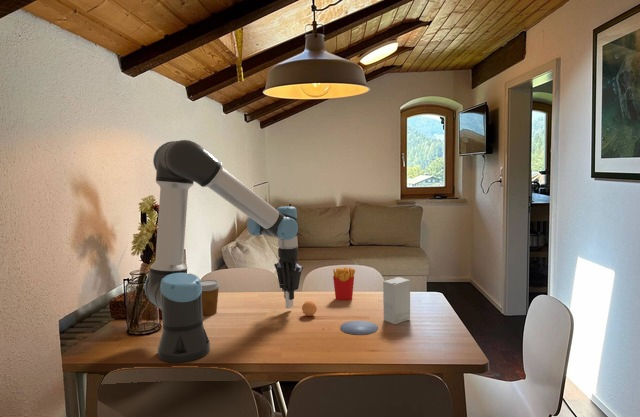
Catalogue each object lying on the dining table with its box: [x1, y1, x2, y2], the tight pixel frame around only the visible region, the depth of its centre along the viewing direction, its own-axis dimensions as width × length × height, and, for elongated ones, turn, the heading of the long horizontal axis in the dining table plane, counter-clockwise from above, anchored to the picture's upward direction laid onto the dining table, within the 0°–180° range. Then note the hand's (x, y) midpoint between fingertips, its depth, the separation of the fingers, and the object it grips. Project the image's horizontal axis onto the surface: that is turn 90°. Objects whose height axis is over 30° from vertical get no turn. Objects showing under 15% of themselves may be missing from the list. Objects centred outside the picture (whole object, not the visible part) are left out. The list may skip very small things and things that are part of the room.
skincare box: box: [382, 276, 411, 325], centre depth 164 cm, size 8×6×15 cm
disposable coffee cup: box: [200, 279, 221, 317], centre depth 176 cm, size 10×10×12 cm
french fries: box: [332, 266, 356, 301], centre depth 191 cm, size 9×4×13 cm, turn 89°
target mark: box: [339, 320, 379, 336], centre depth 158 cm, size 13×13×1 cm
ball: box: [301, 300, 318, 317], centre depth 171 cm, size 6×6×6 cm
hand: (289, 307), depth 177 cm, fingers closed
